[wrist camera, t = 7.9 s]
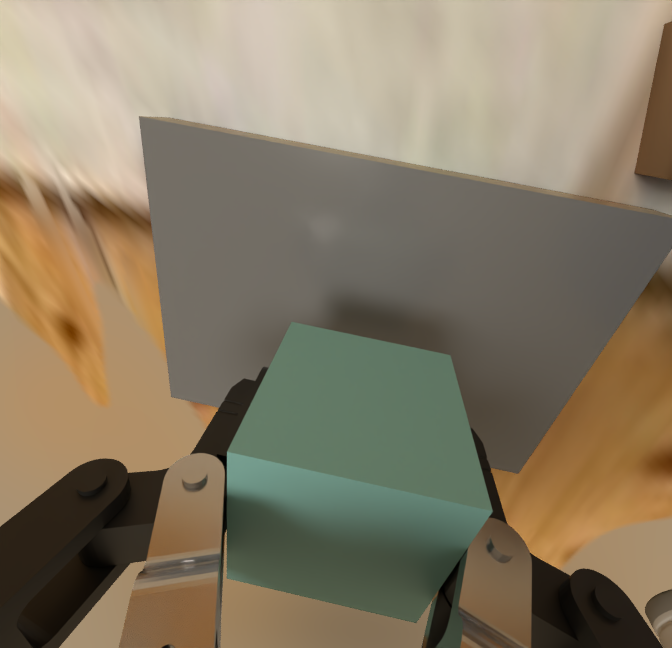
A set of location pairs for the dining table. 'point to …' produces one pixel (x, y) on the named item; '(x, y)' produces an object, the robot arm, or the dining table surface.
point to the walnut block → (659, 117)
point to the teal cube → (354, 475)
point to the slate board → (388, 269)
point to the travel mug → (661, 616)
